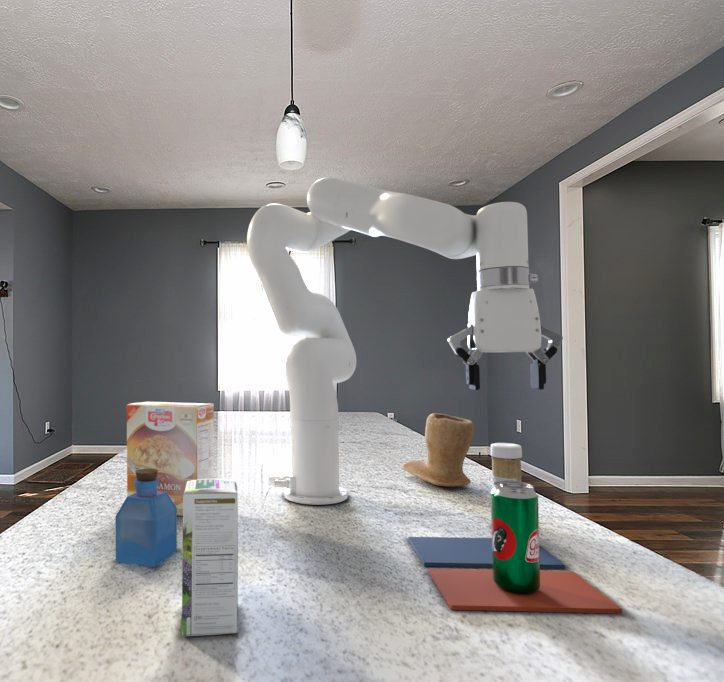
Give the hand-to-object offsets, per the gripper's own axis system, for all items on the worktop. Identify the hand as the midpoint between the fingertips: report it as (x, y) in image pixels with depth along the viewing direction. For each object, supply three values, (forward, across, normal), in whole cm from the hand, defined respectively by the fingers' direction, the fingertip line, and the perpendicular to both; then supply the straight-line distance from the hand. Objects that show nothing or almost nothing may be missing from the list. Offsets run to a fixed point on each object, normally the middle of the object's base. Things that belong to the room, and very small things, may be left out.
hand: (505, 389), depth 84 cm
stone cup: (+22, +2, -32) cm, 40 cm away
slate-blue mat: (+22, +8, +10) cm, 26 cm away
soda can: (+22, +8, +22) cm, 32 cm away
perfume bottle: (+22, +55, +13) cm, 60 cm away
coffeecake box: (+22, +57, -10) cm, 62 cm away
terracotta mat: (+22, +7, +22) cm, 32 cm away
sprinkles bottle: (+23, 0, -2) cm, 23 cm away
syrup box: (+22, +42, +31) cm, 57 cm away
